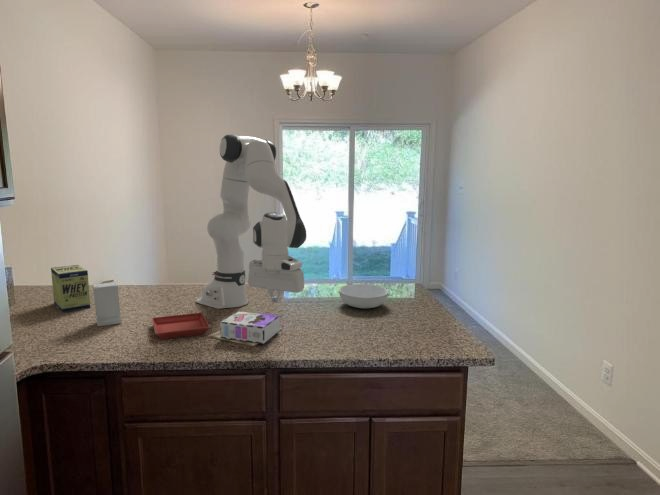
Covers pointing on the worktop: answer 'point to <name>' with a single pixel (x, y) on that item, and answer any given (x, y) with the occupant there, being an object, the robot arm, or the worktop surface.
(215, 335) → the birch board
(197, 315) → the plant saucer
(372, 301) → the serving bowl
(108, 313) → the skincare box
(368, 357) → the worktop surface
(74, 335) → the worktop surface
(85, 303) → the protein box
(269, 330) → the candy box
